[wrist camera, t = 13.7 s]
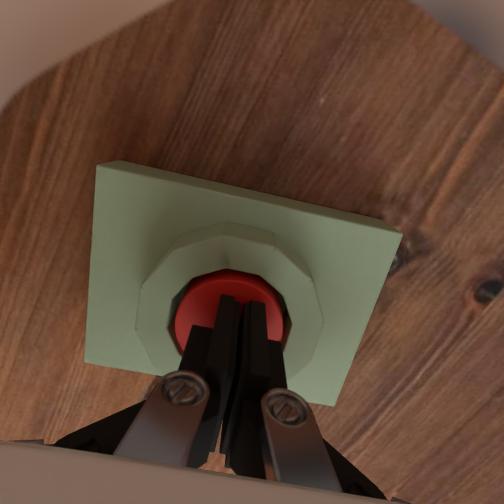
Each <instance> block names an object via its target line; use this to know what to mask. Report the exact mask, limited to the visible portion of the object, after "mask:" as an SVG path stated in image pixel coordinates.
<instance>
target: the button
mask: <svg viewBox="0 0 504 504" xmlns="http://www.w3.org/2000/svg"><path fill="white" fill-rule="evenodd" d="M221 294H224V295H228V296H233V297H235V301H239V302H240V310H239V322H240V318H241V314H242V310H243V306H244V303H248V304H249V303H250V301H251V300H253V301H258V302H263V303H265V305H266V318H267V331H268V339H270V340H276V341H280V342H281V339H282V335H283V319H282V313H281V307H280V301H279V296H278V293H277V290H276V289H275V288H274V287H273V286H271V285H270V284H269V283H268V282H267V281H266V280H264V279H263V278H262V277H261V276H260V275H256V274H252V273H247V272H242V271H237V270H232V269H227V268H225V269H221V270H218V271H214V272H211V273H207V274H204V275H200V276H197V277H194V278H193V279H192V280H191V281H190V283H189V285H188V286H187V289H186V291H185V293H184V296H183V298H182V301H181V303H180V305H179V308H178V310H177V313H176V317H175V333H176V337H177V340H178V342H179V344H180V346H181V348H182V349H183V351H184V349H185V346H186V343H187V340H188V337H189V333H190V330H191V327H192V325H193V324H194V325H199V326H204V327H209V328H214V323H215V319H216V314H217V310H218V305H219V300H220V296H221ZM238 326H239V324H238Z"/></svg>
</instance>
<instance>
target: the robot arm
mask: <svg viewBox="0 0 504 504" xmlns="http://www.w3.org/2000/svg"><path fill="white" fill-rule="evenodd" d="M239 310H240V302H239V301H235V297H233V296H228V295H224V294H221V296H220V300H219V305H218V310H217V314H216V319H215V323H214V328H209V327H204V326H199V325H194V324H193V325H192V327H191V330H190V333H189V337H188V340H187V343H186V346H185V349H184V352H183V355H182V359H181V362H180V365H179V368H178V370H176V371H172V372H169V373H167V374H165V375H164V376H162V377H161V378H160V379H159V381H158V382H157V383H156V385H155V387H154V388H153V390H152V392H151V393H150V395H149V396H148V398H147V399H146V400H144V401H142V402H140V403H137V404H135V405H133V406H131V407H128V408H126V409H124V410H122V411H120V412H117V413H115V414H113V415H111V416H108V417H106V418H104V419H102V420H99V421H97V422H95V423H93V424H91V425H88V426H86V427H84V428H82V429H79V430H77V431H75V432H73V433H70V434H68V435H67V436H65V437H63V438H61V439H60V440H58V441H57V442H56V443H55V444H46V445H44V439H40V440H16V441H4V440H0V504H410V503H408V502H405V501H403V500H400V499H398V498H395V497H392V499H391V501H389V500H387V499H386V497H385V496H384V494H383V493H382V492H381V491H380V490H379V488H378V487H377V486H376V485H375V484H374V483H372V482H371V481H370V480H369V479H368V478H367V477H366V476H365V475H363V474H362V473H361V472H360V471H359V470H358V469H357V468H356V467H355V466H353V465H352V464H351V463H350V462H349V461H348V460H347V459H346V458H344V457H343V456H342V455H341V454H340V453H339V452H338V451H337V450H336V449H334V448H333V447H332V446H331V445H330V444H329V443H328V442H327V441H325V440H324V439H323V438H322V436H321V433H320V430H319V428H318V425H317V423H316V420H315V417H314V415H313V412H312V410H311V408H310V406H309V404H308V402H307V401H306V400H305V399H304V398H303V397H302V396H300V395H299V394H297V393H296V392H293V391H291V390H289V389H288V387H287V379H286V372H285V365H284V357H283V350H282V344H281V342H280V341H276V340H270V339H268V331H267V318H266V305H265V303H263V302H258V301H253V300H251V301H250V303H249V304H248V303H244V306H243V310H242V314H241V318H240V322H239ZM238 324H239V326H238ZM222 420H223V423H222ZM221 424H222V432H221V442H220V453H221V454H226V457H225V467H226V468H231V469H232V470H233V471H234V472H235V473H236V475H233V474H227V473H221V472H215V471H208V470H202V469H197V468H199V467H200V466H202V465H203V464H205V463H206V462H207V459H208V455H209V452H214V451H215V447H216V443H217V439H218V435H219V431H220V428H221Z"/></svg>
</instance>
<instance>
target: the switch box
mask: <svg viewBox="0 0 504 504" xmlns="http://www.w3.org/2000/svg"><path fill="white" fill-rule="evenodd" d="M402 236H403V233H401V232H400V231H398V230H397V229H395V228H394V227H392V226H391V225H389V224H388V223H386V222H385V221H383V220H381V219H377V218H372V217H368V216H363V215H359V214H355V213H350V212H346V211H341V210H337V209H333V208H328V207H324V206H319V205H315V204H311V203H306V202H302V201H297V200H293V199H289V198H284V197H280V196H276V195H271V194H267V193H262V192H258V191H254V190H249V189H245V188H240V187H236V186H232V185H227V184H223V183H218V182H214V181H210V180H205V179H201V178H196V177H192V176H188V175H183V174H179V173H174V172H170V171H166V170H161V169H157V168H153V167H148V166H144V165H139V164H135V163H131V162H126V161H122V160H117V161H112V162H108V163H103V164H98V165H97V166H96V179H95V195H94V210H93V226H92V241H91V257H90V272H89V288H88V304H87V319H86V335H85V350H84V362H86V363H92V364H97V365H103V366H109V367H114V368H120V369H125V370H131V371H137V372H142V373H148V374H153V375H159V376H164V375H165V374H167V373H169V372H172V371H176V370H178V368H179V365H180V362H181V359H182V355H183V352H184V351H183V349H182V348H181V346H180V344H179V342H178V340H177V337H176V333H175V317H176V313H177V310H178V308H179V305H180V303H181V301H182V298H183V296H184V293H185V291H186V289H187V286H188V285H189V283H190V281H191V280H192V279H193V278H194V277H197V276H200V275H204V274H207V273H211V272H214V271H218V270H221V269H225V268H227V269H232V270H237V271H242V272H247V273H252V274H256V275H260V276H261V277H262V278H263V279H264V280H266V281H267V282H268V283H269V284H270V285H271V286H273V287H274V288H275V289H276V290H277V293H278V296H279V301H280V307H281V313H282V319H283V335H282V339H281V344H282V350H283V357H284V365H285V372H286V379H287V387H288V389H289V390H291V391H293V392H296V393H297V394H299V395H300V396H302V397H303V398H304V399H305V400H306V401H307V402H311V403H316V404H322V405H328V406H335V403H336V401H337V398H338V396H339V393H340V391H341V388H342V386H343V383H344V381H345V378H346V376H347V373H348V371H349V368H350V366H351V363H352V361H353V358H354V356H355V353H356V351H357V348H358V346H359V343H360V341H361V338H362V336H363V333H364V331H365V328H366V326H367V324H368V321H369V319H370V316H371V314H372V311H373V309H374V306H375V304H376V301H377V299H378V296H379V294H380V291H381V289H382V286H383V284H384V281H385V279H386V276H387V274H388V271H389V269H390V266H391V264H392V261H393V259H394V256H395V254H396V251H397V249H398V246H399V244H400V241H401V239H402Z"/></svg>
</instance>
